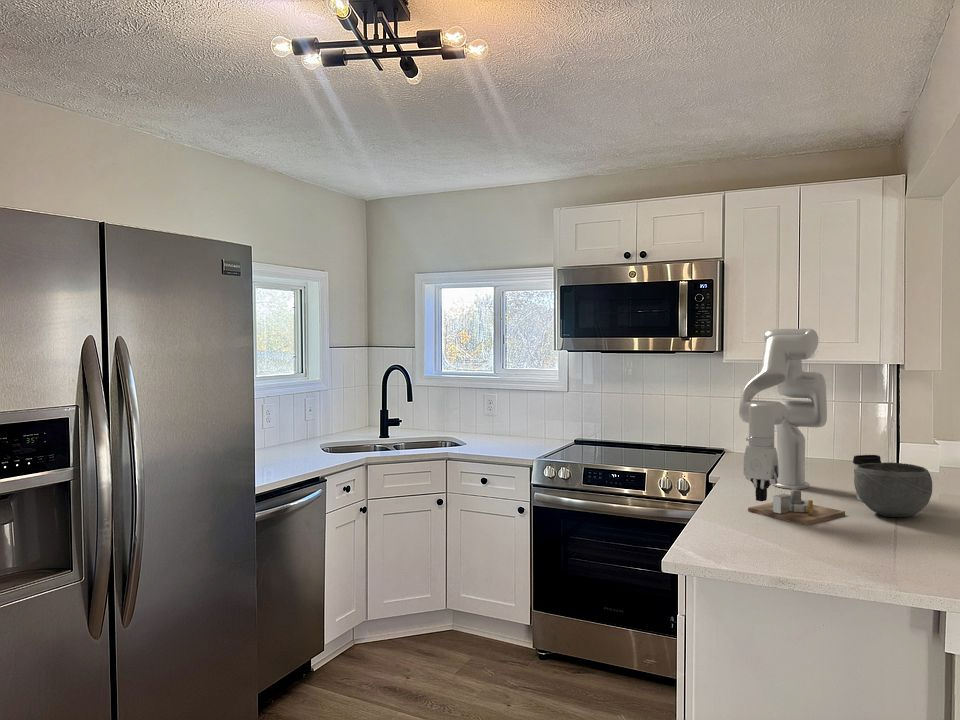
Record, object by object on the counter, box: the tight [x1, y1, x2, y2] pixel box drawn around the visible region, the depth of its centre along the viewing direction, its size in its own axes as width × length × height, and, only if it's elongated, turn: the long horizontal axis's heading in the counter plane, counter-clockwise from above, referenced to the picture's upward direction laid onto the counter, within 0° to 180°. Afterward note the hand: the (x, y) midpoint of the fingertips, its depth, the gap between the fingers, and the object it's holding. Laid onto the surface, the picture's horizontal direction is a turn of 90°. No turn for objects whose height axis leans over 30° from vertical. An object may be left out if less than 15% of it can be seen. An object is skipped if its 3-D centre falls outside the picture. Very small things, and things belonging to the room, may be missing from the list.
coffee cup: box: [852, 454, 882, 502], centre depth 237 cm, size 8×8×15 cm
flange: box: [772, 493, 808, 514], centre depth 219 cm, size 9×14×5 cm, turn 123°
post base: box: [747, 489, 846, 526], centre depth 221 cm, size 20×20×7 cm
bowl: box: [853, 462, 933, 518], centre depth 217 cm, size 21×21×15 cm
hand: (761, 500), depth 223 cm, fingers closed
